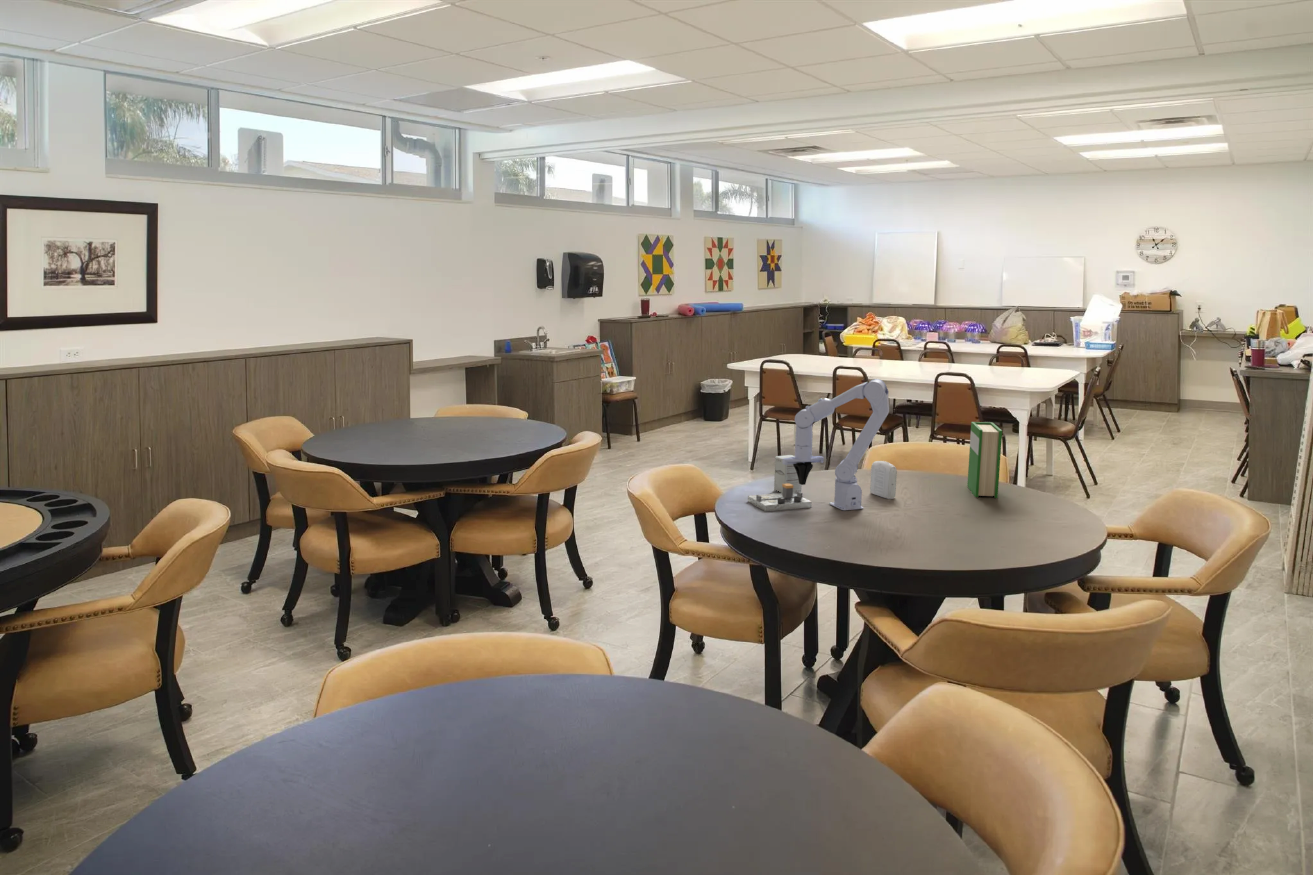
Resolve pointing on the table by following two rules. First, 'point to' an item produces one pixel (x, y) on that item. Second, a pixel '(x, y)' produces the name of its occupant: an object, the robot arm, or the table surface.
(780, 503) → the console
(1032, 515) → the table surface
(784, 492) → the fader tab
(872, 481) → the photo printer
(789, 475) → the supplement box
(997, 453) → the hardback book
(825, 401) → the robot arm
